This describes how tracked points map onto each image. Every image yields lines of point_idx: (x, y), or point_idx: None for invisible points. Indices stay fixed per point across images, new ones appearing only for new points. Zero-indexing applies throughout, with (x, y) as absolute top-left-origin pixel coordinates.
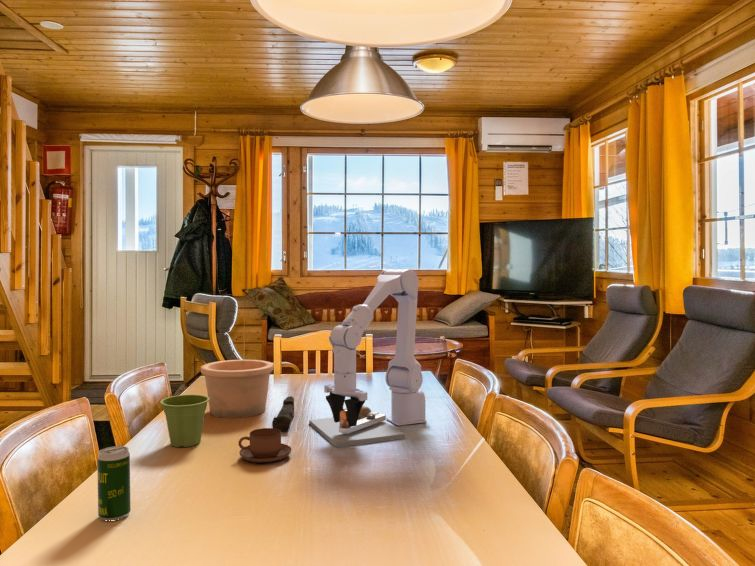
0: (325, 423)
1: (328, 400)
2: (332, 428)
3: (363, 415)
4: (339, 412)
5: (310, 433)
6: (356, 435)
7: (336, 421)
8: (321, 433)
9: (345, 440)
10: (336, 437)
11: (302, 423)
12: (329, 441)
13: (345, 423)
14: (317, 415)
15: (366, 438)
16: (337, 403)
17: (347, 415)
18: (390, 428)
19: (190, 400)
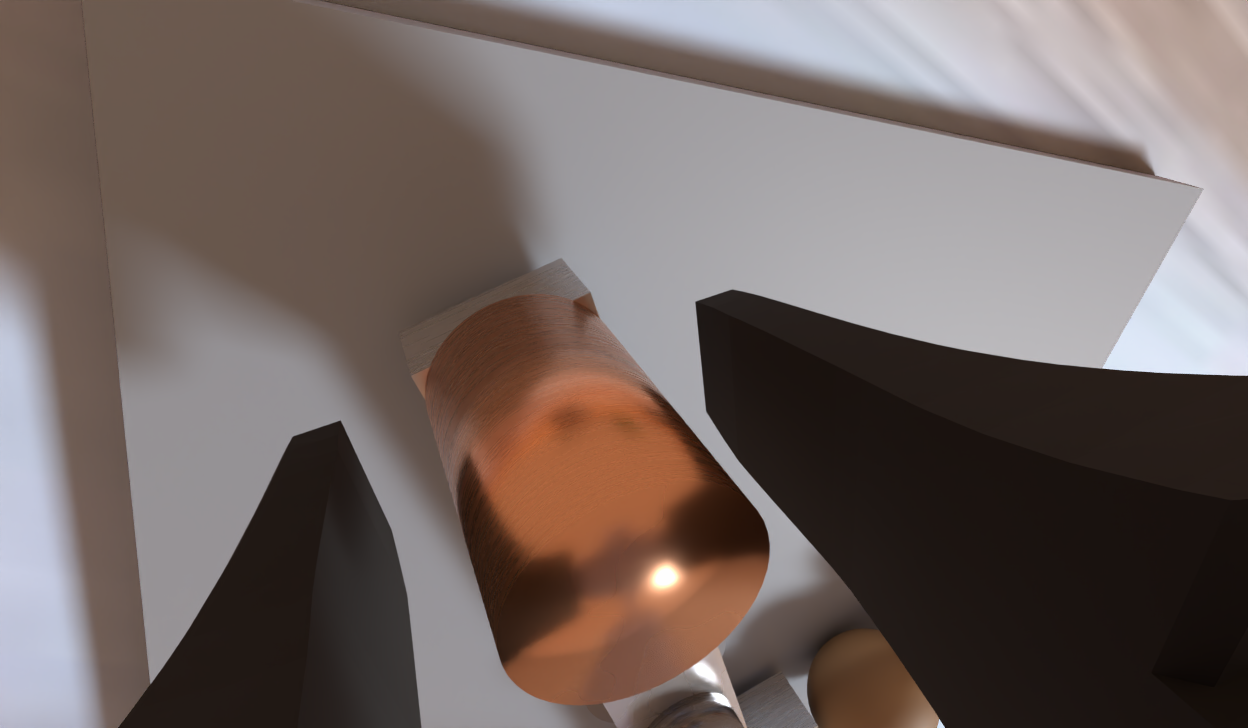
0: (1005, 290)
1: (1223, 408)
2: (821, 283)
3: (839, 669)
4: (799, 467)
5: (956, 4)
6: (366, 445)
7: (706, 319)
8: (833, 109)
9: (152, 197)
10: (419, 140)
11: (1221, 126)
12: (492, 37)
13: (451, 405)
14: (1220, 351)
15: (138, 524)
16: (958, 571)
17: (476, 550)
18: None
19: None
